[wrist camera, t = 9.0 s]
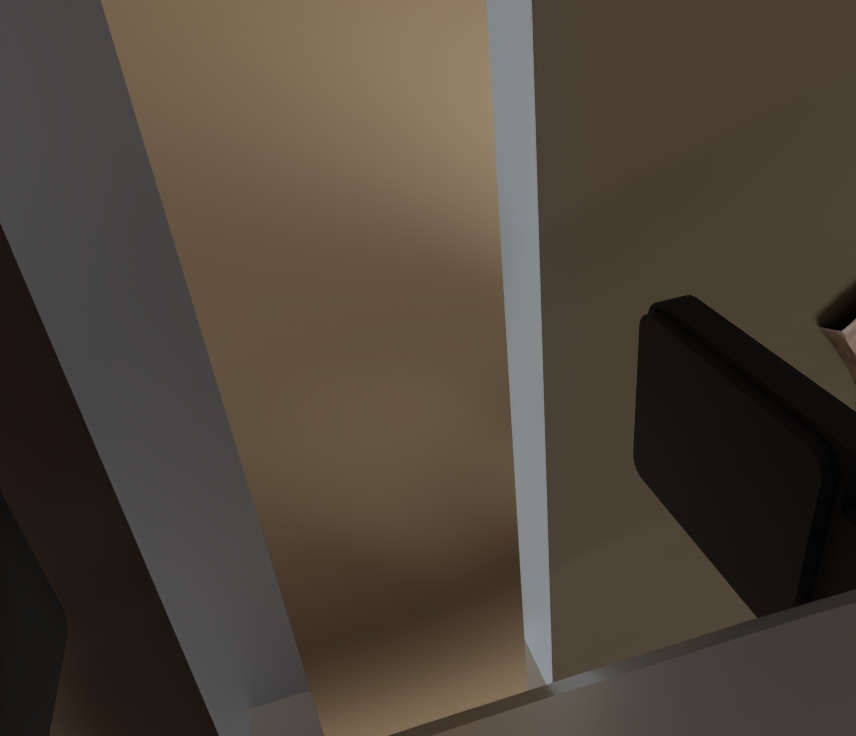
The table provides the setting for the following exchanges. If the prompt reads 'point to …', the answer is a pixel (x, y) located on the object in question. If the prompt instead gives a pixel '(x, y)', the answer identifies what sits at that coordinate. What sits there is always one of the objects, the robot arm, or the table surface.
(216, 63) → the slat
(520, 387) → the endcap board
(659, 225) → the table surface
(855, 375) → the wooden fragment
